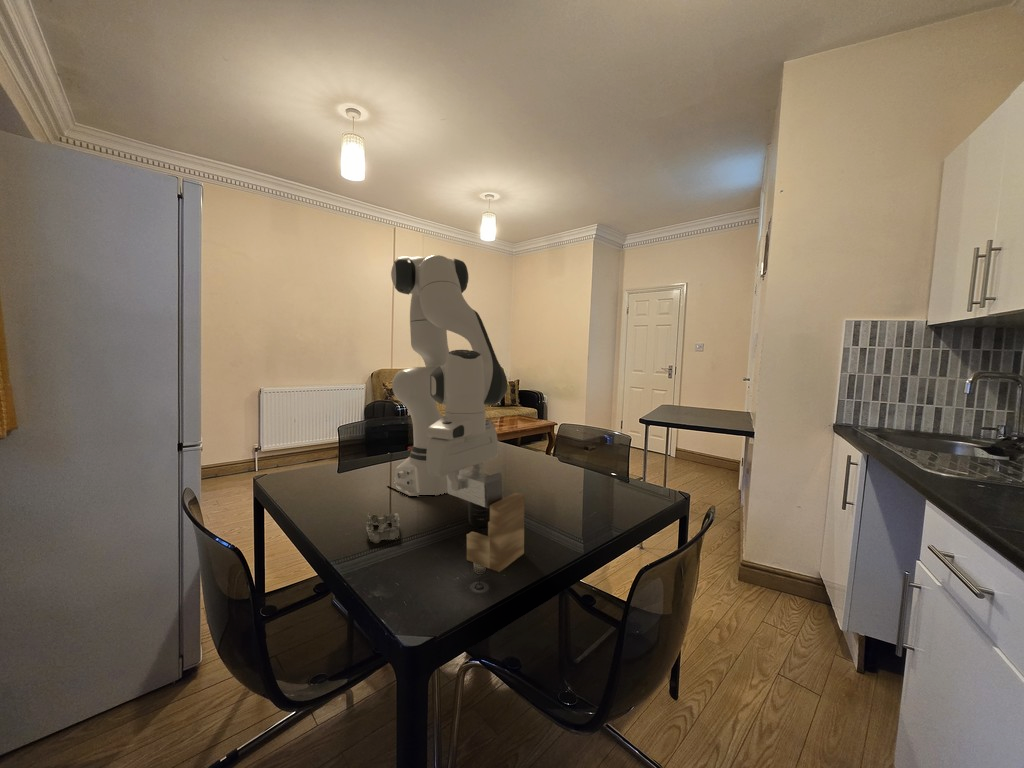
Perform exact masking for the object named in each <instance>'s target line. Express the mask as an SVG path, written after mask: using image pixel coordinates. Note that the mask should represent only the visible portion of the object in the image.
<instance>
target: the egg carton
mask: <svg viewBox="0 0 1024 768" xmlns="http://www.w3.org/2000/svg"><path fill="white" fill-rule="evenodd" d="M387 521H391V522H392V524H391V528H389V527H390V526H389V524H388V523H386V522H387ZM376 522H377V523H378V524H379V527H378V528H377V532H376V534H375V532H374V531H375V530H374V529H375V528H374V527H375V526H373V523H376ZM384 523H386V524H384ZM400 523H401V522H400V514H399V512H395V513H390V514H388V515H386V513H385V514H383V515H382V517H379V516H378V514H377V513H373V514H372V513H371V512H370V511H368V513H367V520H366V527H365V528H366V532H367V535H368V540H369V539H373V540H374V541H377V540H380V539H381V538H385V537H386V538H389V539H395V537H397V536H399V537H400V525H401V524H400ZM395 540H396V539H395Z"/></svg>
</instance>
